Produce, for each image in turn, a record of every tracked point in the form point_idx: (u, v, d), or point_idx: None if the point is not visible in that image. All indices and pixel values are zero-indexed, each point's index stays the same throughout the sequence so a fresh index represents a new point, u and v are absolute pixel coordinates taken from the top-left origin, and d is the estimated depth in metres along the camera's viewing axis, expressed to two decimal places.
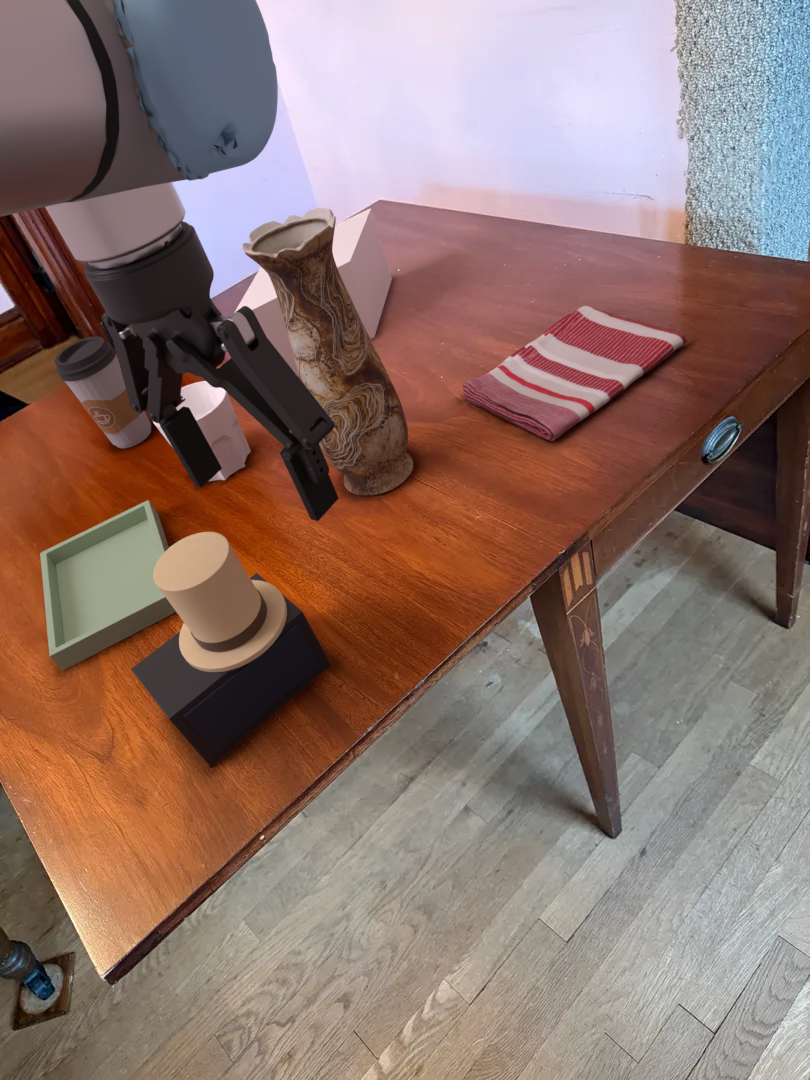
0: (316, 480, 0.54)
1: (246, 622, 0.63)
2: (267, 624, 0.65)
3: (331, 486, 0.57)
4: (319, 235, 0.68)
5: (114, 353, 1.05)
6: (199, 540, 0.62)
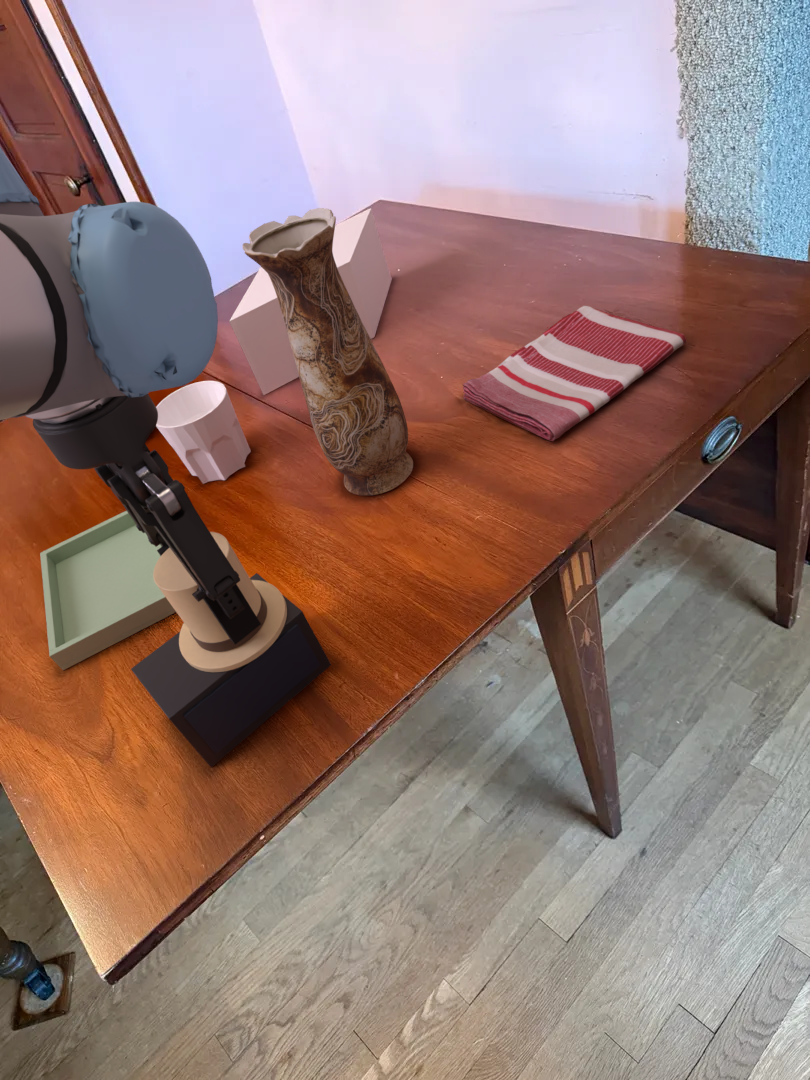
0: (228, 616, 0.59)
1: None
2: (266, 624, 0.65)
3: (252, 615, 0.62)
4: (319, 235, 0.68)
5: None
6: None
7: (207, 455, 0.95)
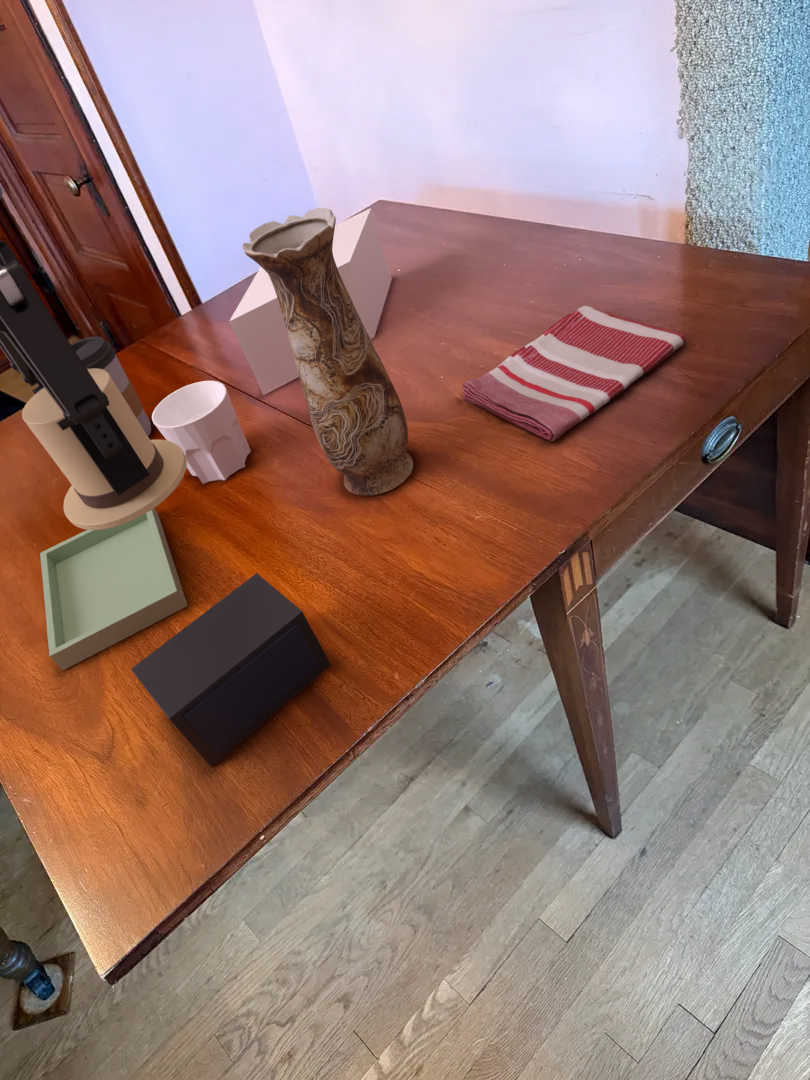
0: (103, 454, 0.51)
1: None
2: (160, 479, 0.57)
3: (138, 461, 0.54)
4: (319, 235, 0.68)
5: (114, 353, 1.05)
6: None
7: (207, 455, 0.95)
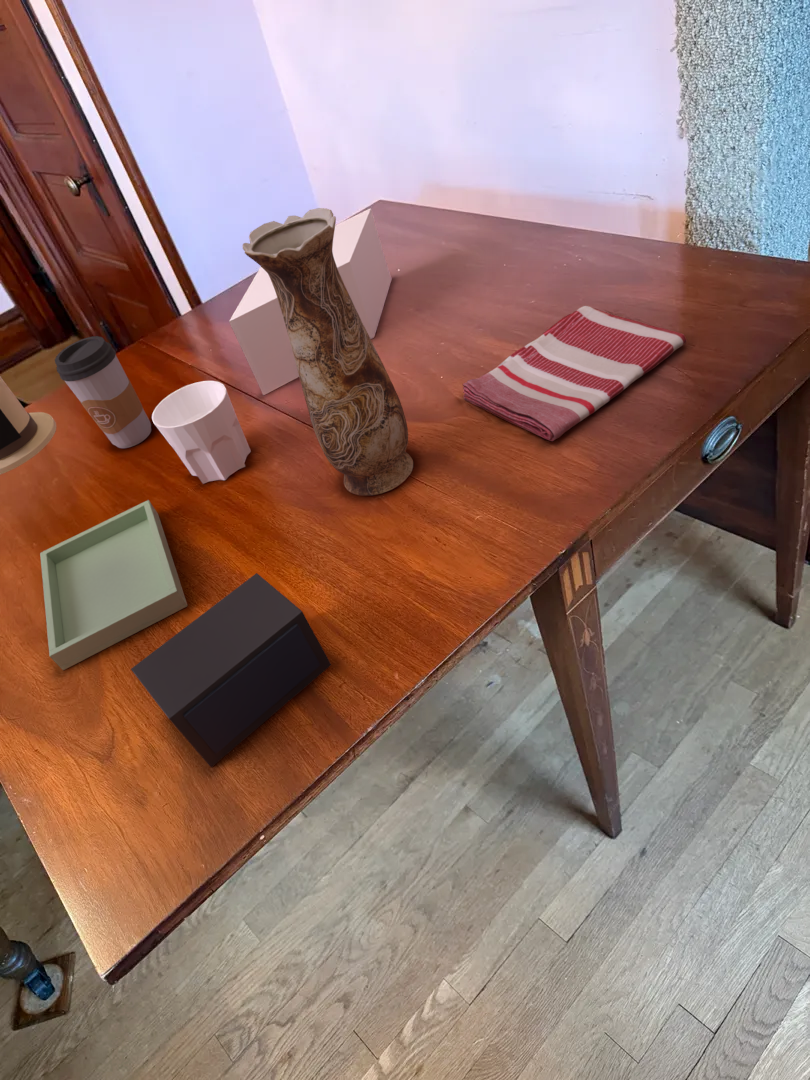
0: None
1: None
2: (33, 441, 0.73)
3: (10, 426, 0.70)
4: (319, 235, 0.68)
5: (114, 353, 1.05)
6: None
7: (207, 455, 0.95)
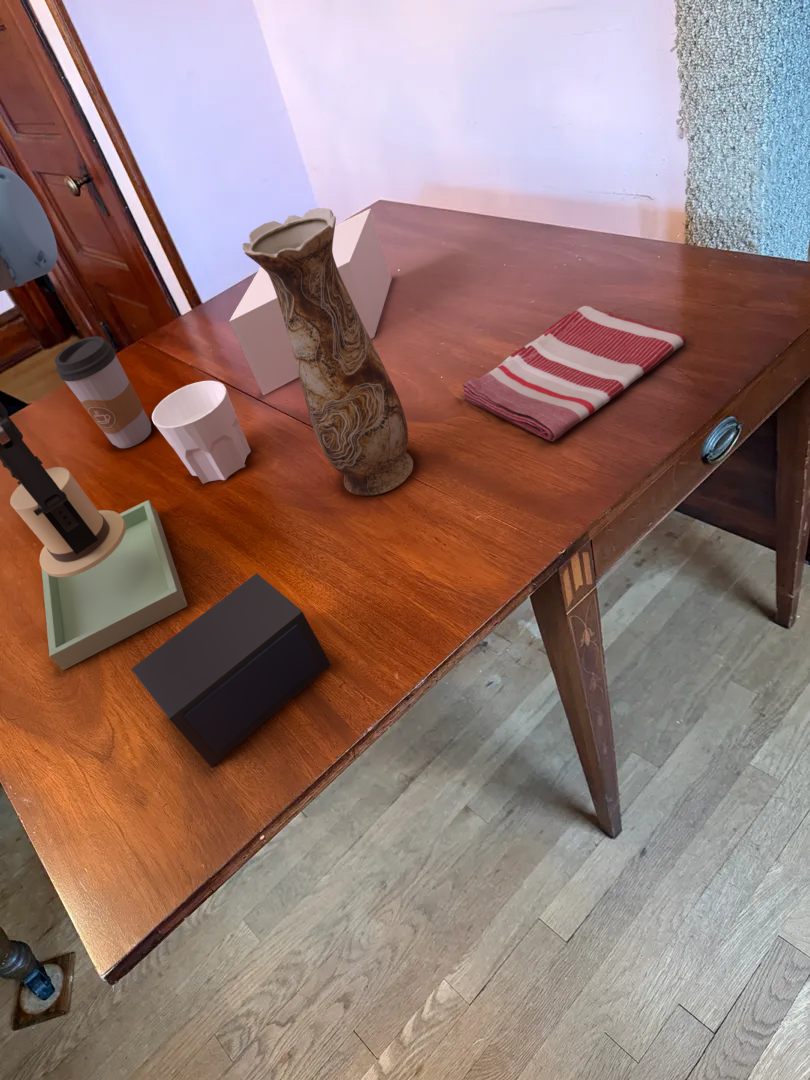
0: (65, 529, 0.77)
1: None
2: (106, 541, 0.82)
3: (89, 531, 0.79)
4: (319, 235, 0.68)
5: (114, 353, 1.05)
6: (49, 473, 0.80)
7: (207, 455, 0.95)
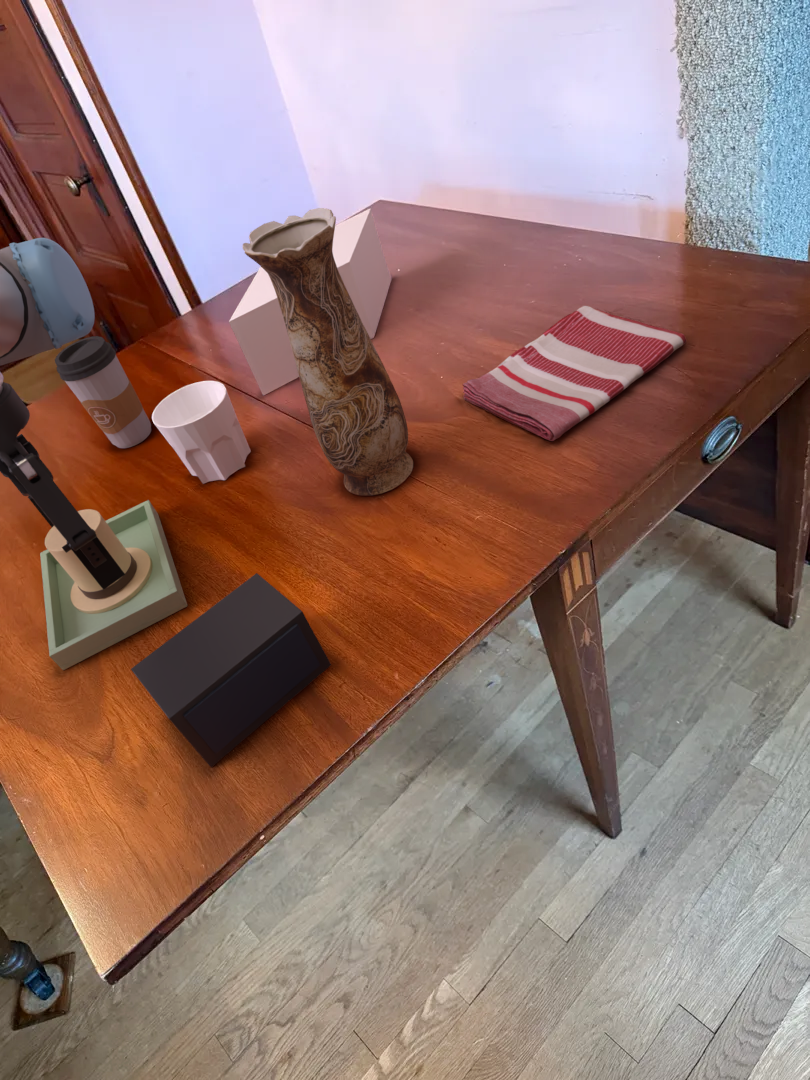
0: (93, 565, 0.77)
1: None
2: (134, 579, 0.86)
3: (116, 566, 0.79)
4: (319, 235, 0.68)
5: (114, 353, 1.05)
6: None
7: (207, 455, 0.95)
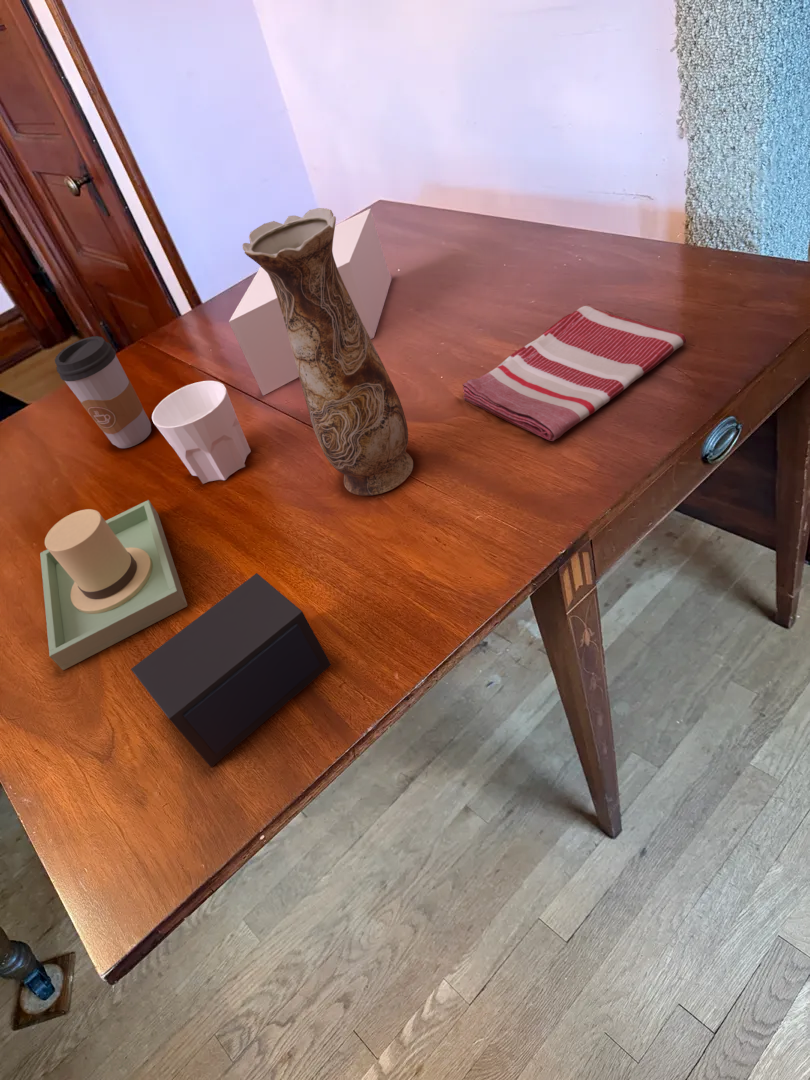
0: None
1: (117, 576, 0.85)
2: (134, 579, 0.86)
3: None
4: (319, 235, 0.68)
5: (114, 353, 1.05)
6: (80, 515, 0.84)
7: (207, 455, 0.95)
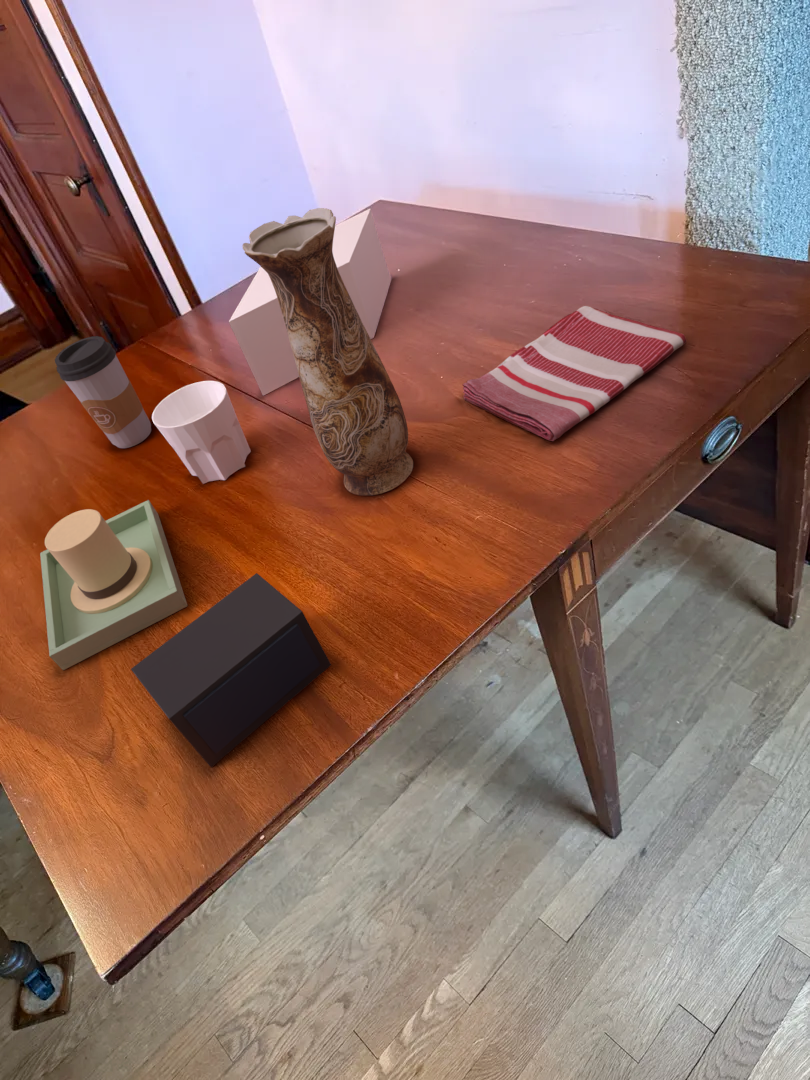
0: None
1: (117, 576, 0.85)
2: (134, 579, 0.86)
3: None
4: (319, 235, 0.68)
5: (114, 353, 1.05)
6: (80, 515, 0.84)
7: (207, 455, 0.95)
